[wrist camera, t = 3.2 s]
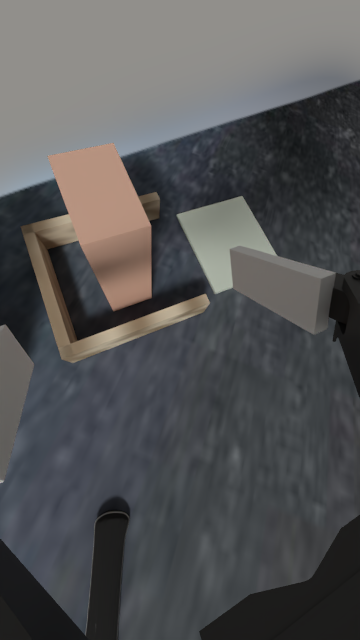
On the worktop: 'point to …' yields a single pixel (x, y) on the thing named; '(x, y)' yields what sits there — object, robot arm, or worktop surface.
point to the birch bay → (69, 347)
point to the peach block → (107, 221)
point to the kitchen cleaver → (106, 575)
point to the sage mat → (222, 237)
